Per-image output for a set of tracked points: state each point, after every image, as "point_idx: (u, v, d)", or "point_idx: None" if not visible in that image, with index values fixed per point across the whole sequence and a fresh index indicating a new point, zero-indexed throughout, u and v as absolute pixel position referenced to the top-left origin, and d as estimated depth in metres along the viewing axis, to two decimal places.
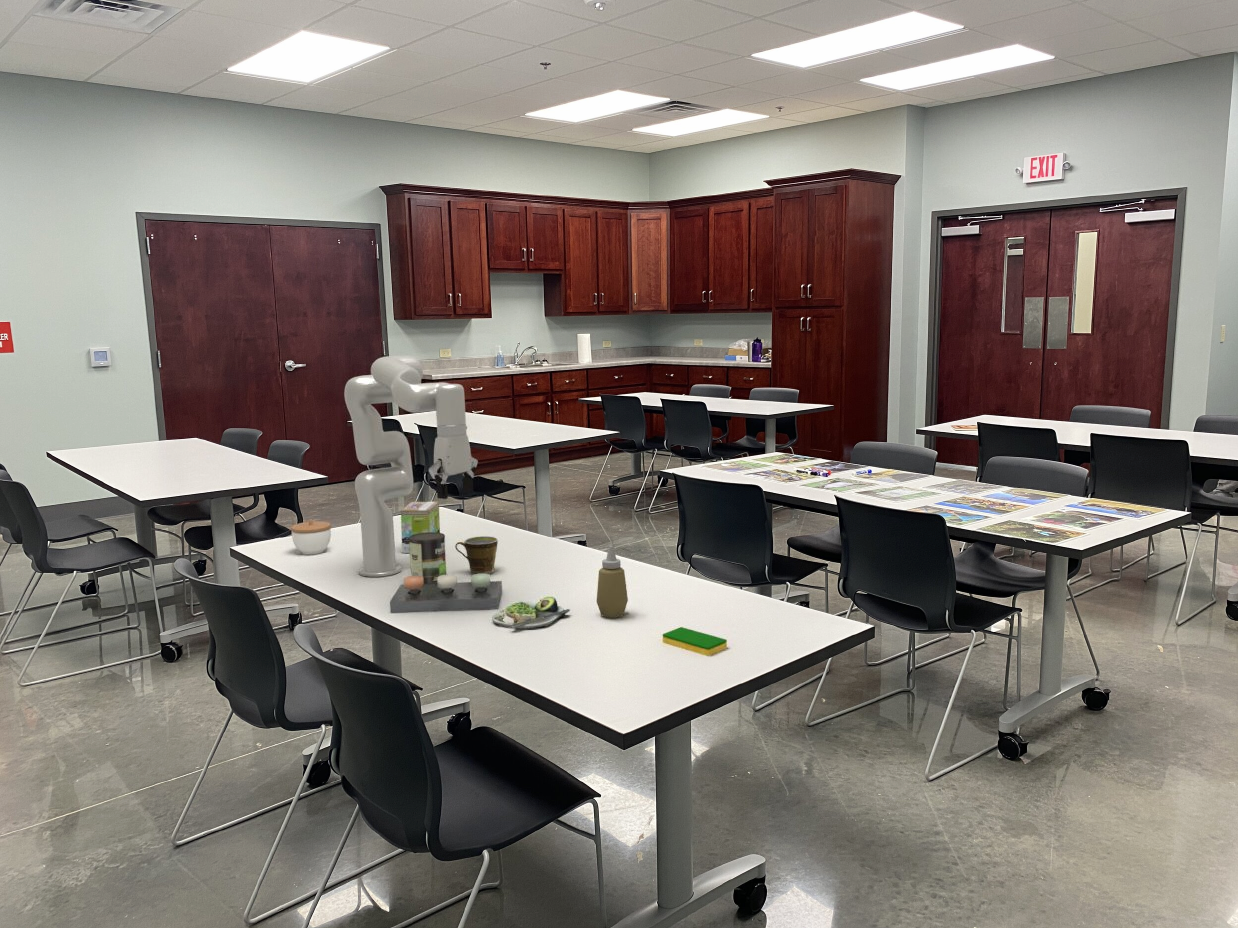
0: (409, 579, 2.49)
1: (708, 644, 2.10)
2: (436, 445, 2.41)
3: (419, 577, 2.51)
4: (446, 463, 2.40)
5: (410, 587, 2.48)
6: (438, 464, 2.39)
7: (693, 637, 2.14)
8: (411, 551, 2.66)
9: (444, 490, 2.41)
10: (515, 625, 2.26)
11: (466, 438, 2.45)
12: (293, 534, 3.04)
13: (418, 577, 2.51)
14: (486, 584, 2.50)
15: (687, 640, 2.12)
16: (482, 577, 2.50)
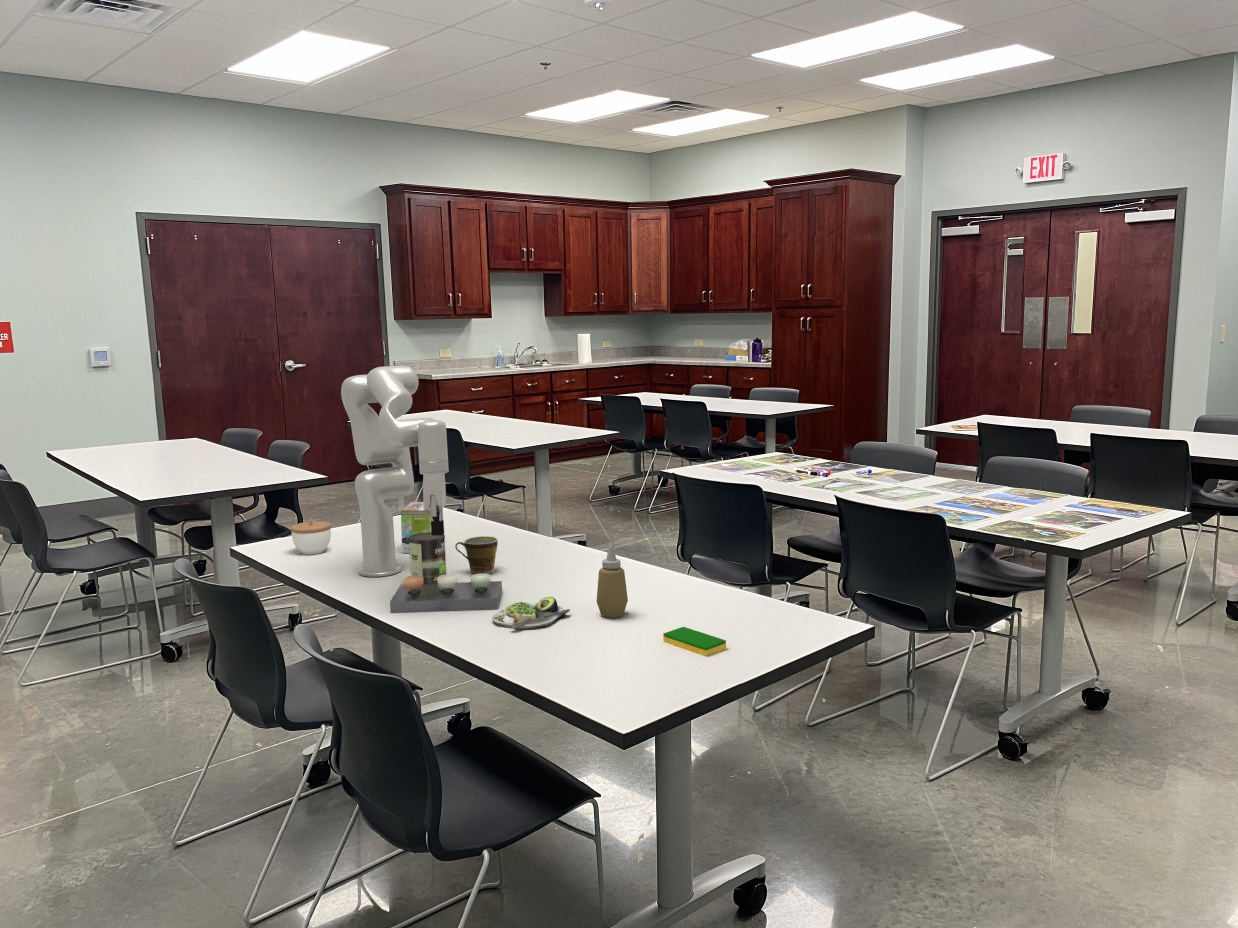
0: (409, 579, 2.49)
1: (706, 644, 2.09)
2: (427, 482, 2.41)
3: (419, 577, 2.51)
4: (440, 498, 2.42)
5: (410, 587, 2.48)
6: (436, 505, 2.43)
7: (693, 637, 2.14)
8: (411, 551, 2.66)
9: (441, 527, 2.47)
10: (515, 625, 2.26)
11: None
12: (293, 534, 3.04)
13: (418, 577, 2.51)
14: (486, 584, 2.50)
15: (686, 640, 2.13)
16: (482, 577, 2.50)
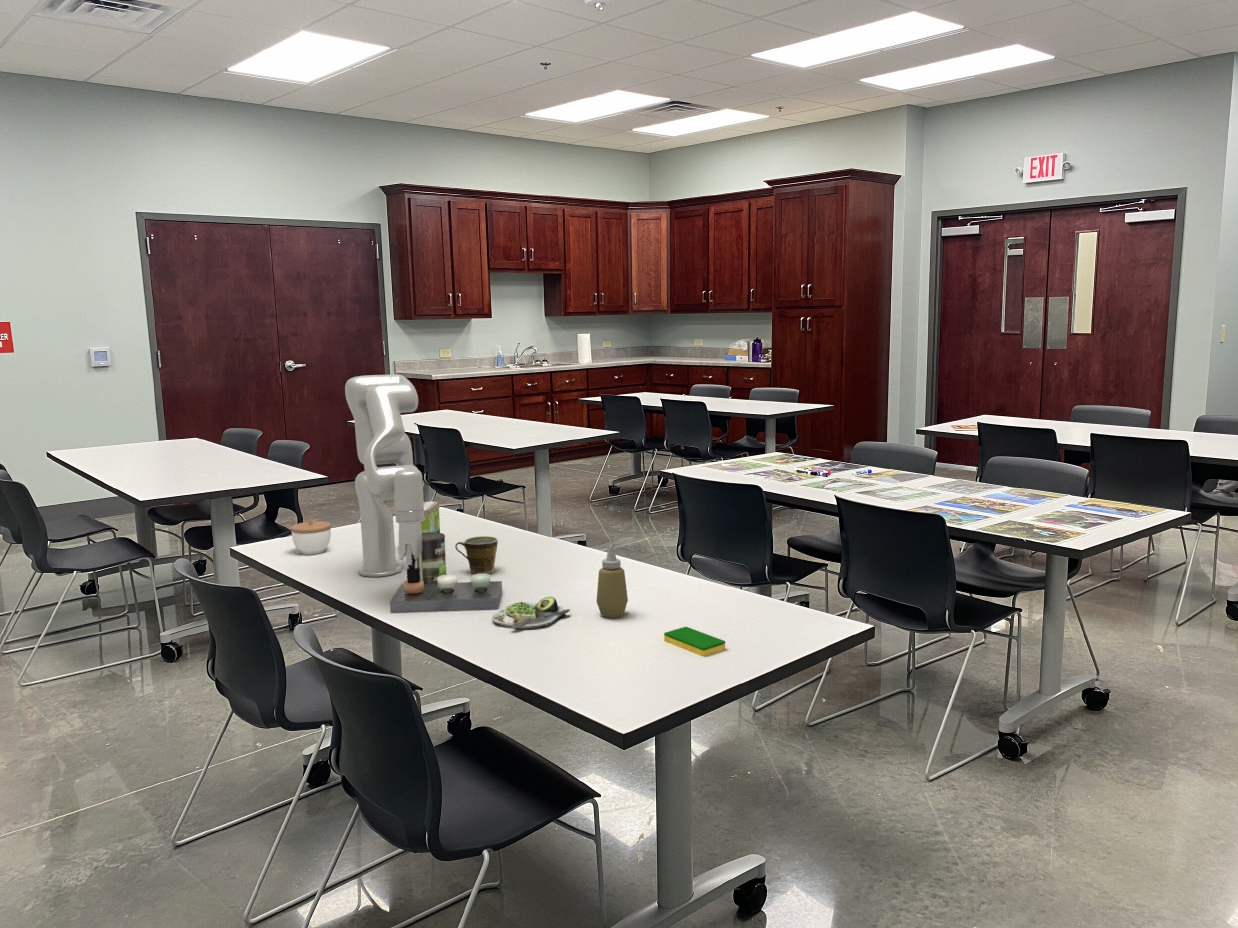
0: (409, 583, 2.49)
1: (704, 645, 2.09)
2: (403, 531, 2.43)
3: None
4: (416, 547, 2.44)
5: (410, 591, 2.48)
6: (411, 554, 2.45)
7: (693, 637, 2.14)
8: None
9: (417, 574, 2.49)
10: (515, 625, 2.26)
11: None
12: (293, 534, 3.04)
13: None
14: (486, 584, 2.50)
15: (685, 640, 2.13)
16: (482, 577, 2.50)
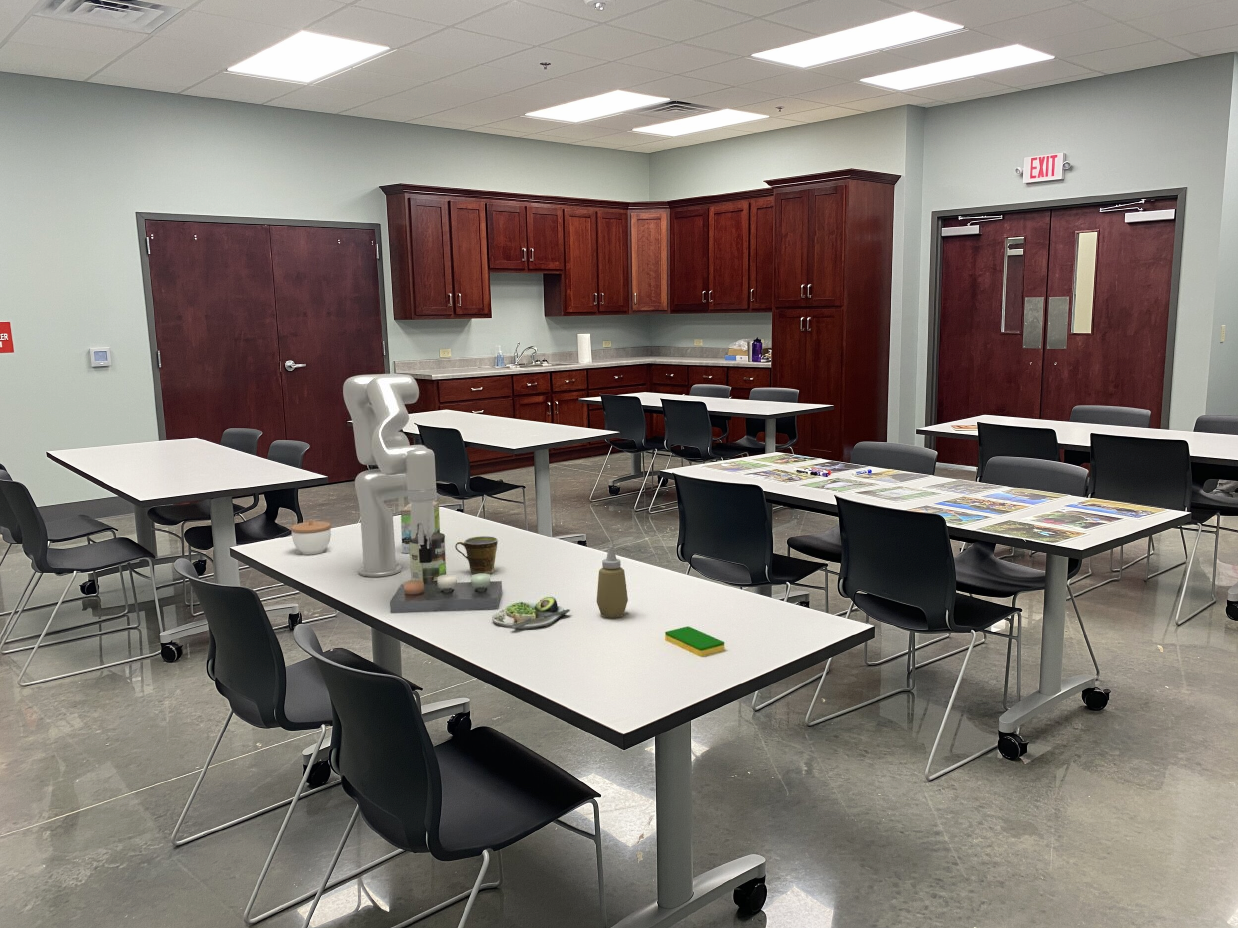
0: (409, 584, 2.49)
1: (702, 645, 2.09)
2: (415, 510, 2.43)
3: (419, 582, 2.51)
4: (428, 527, 2.43)
5: (410, 592, 2.48)
6: (423, 534, 2.44)
7: (692, 637, 2.14)
8: (411, 551, 2.66)
9: (429, 554, 2.48)
10: (515, 625, 2.26)
11: None
12: (293, 534, 3.04)
13: (418, 582, 2.51)
14: (486, 584, 2.50)
15: (685, 639, 2.13)
16: (482, 577, 2.50)
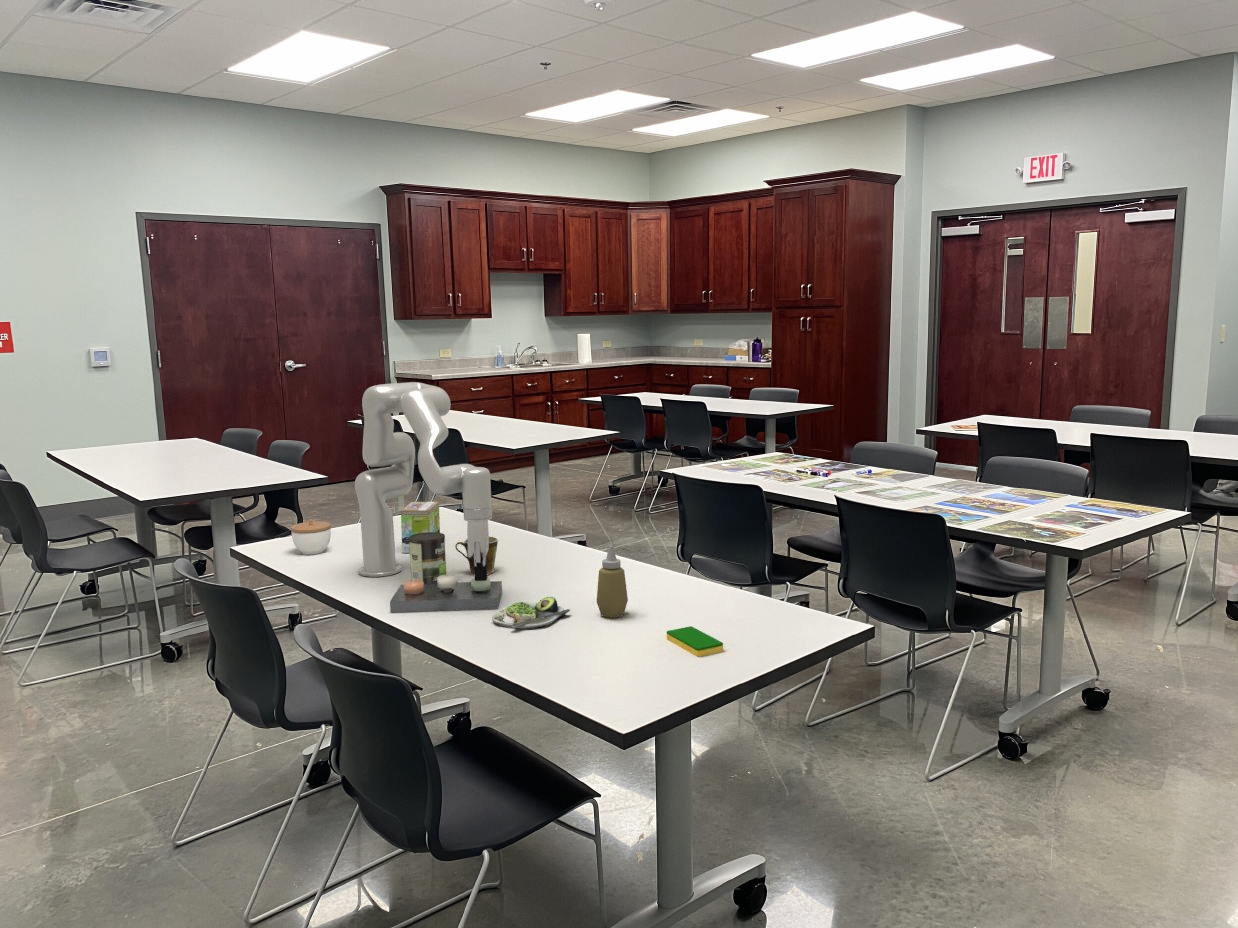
0: (409, 584, 2.49)
1: (700, 645, 2.09)
2: (472, 529, 2.44)
3: (419, 582, 2.51)
4: (484, 545, 2.45)
5: (410, 592, 2.48)
6: (480, 552, 2.45)
7: (692, 637, 2.14)
8: (411, 551, 2.66)
9: (484, 572, 2.50)
10: (515, 625, 2.26)
11: None
12: (293, 534, 3.04)
13: (418, 582, 2.51)
14: (486, 588, 2.50)
15: (684, 639, 2.13)
16: (482, 581, 2.50)
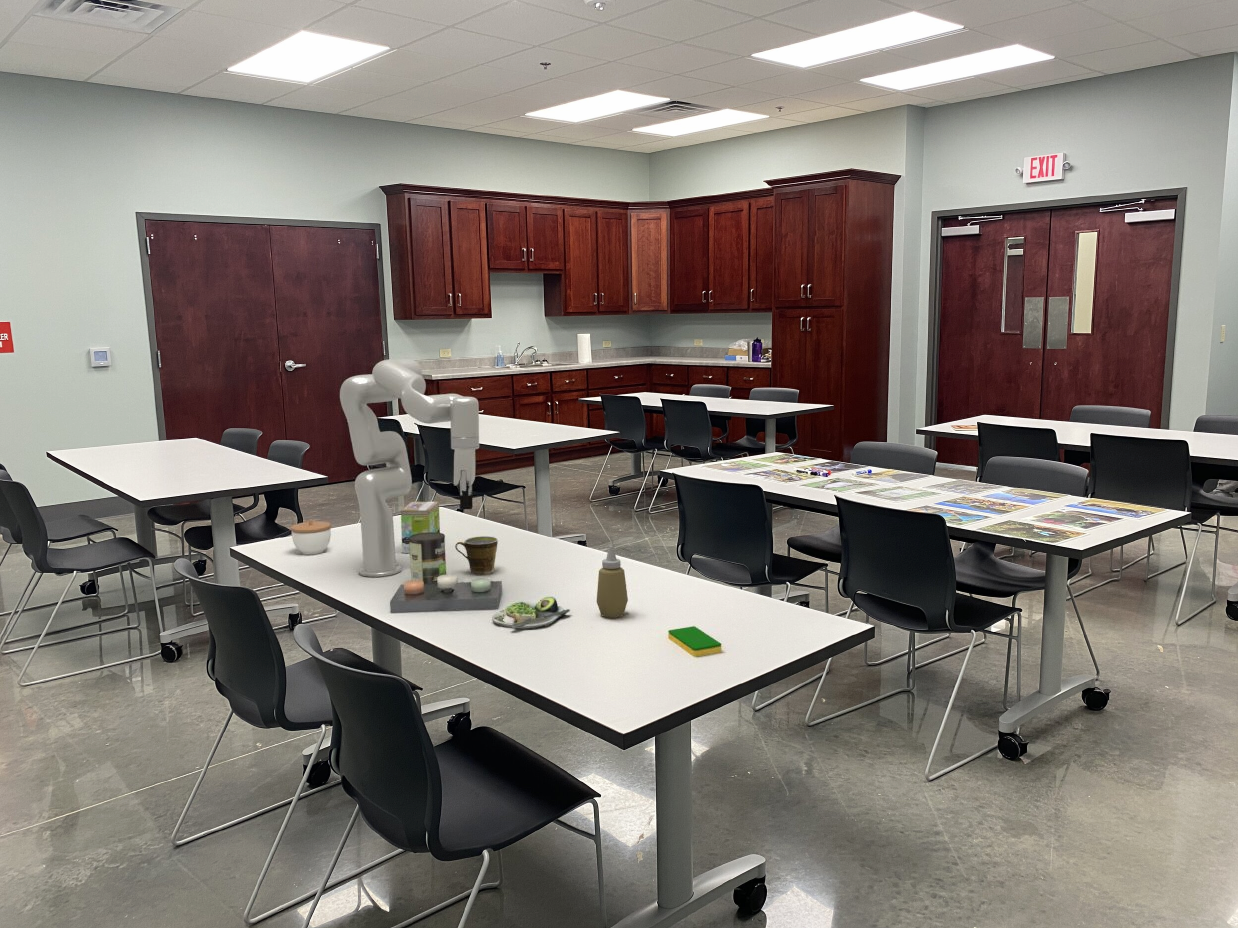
0: (409, 584, 2.49)
1: (697, 645, 2.09)
2: (458, 457, 2.47)
3: (419, 582, 2.51)
4: (470, 474, 2.48)
5: (410, 592, 2.48)
6: (466, 480, 2.48)
7: (692, 637, 2.14)
8: (411, 551, 2.66)
9: (470, 501, 2.53)
10: (515, 625, 2.26)
11: None
12: (293, 534, 3.04)
13: (418, 582, 2.51)
14: (486, 589, 2.50)
15: (683, 639, 2.13)
16: (482, 582, 2.50)
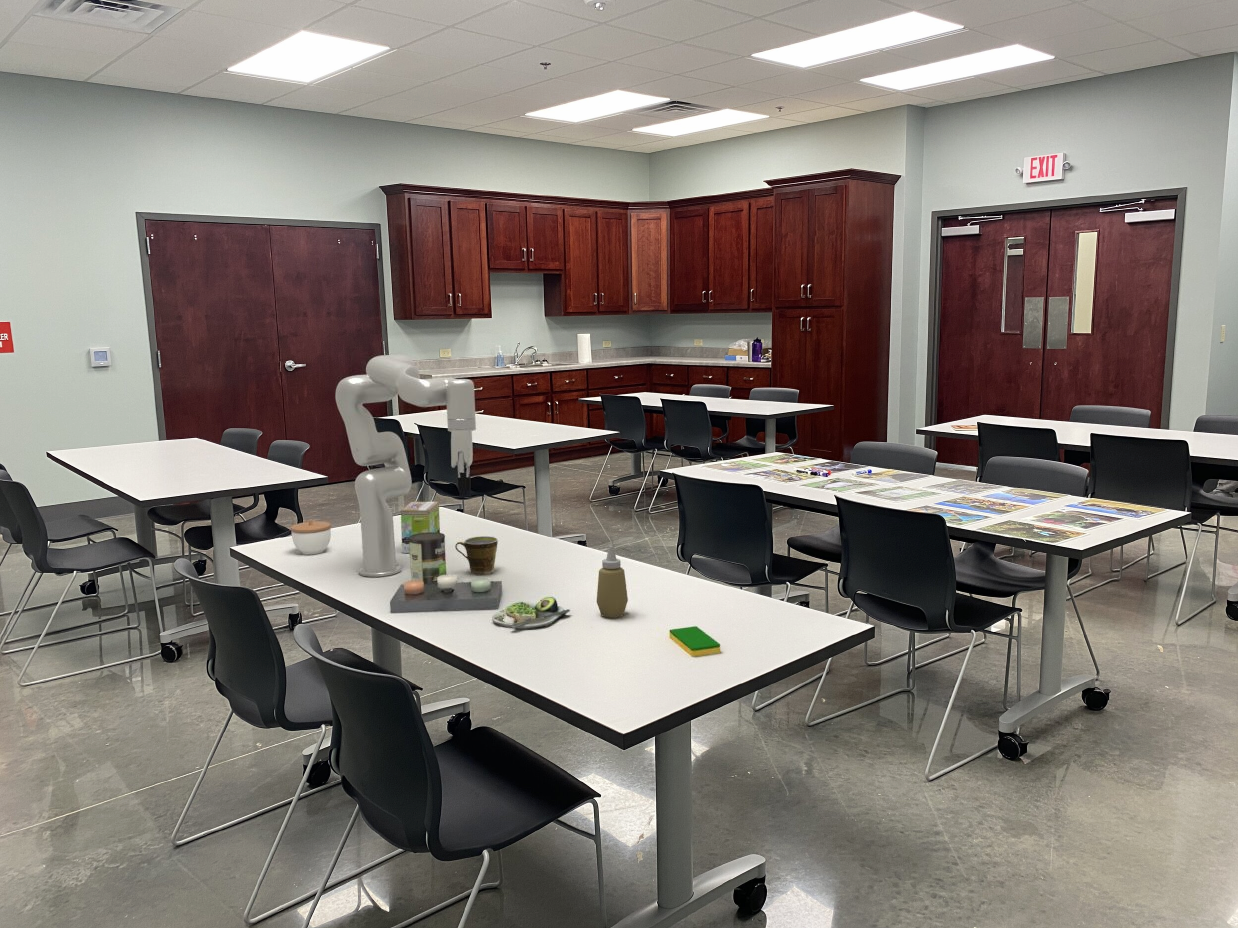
0: (409, 584, 2.49)
1: (696, 645, 2.09)
2: (455, 439, 2.47)
3: (419, 582, 2.51)
4: (468, 455, 2.48)
5: (410, 592, 2.48)
6: (463, 462, 2.49)
7: (692, 637, 2.14)
8: (411, 551, 2.66)
9: (468, 483, 2.53)
10: (515, 625, 2.26)
11: None
12: (293, 534, 3.04)
13: (418, 582, 2.51)
14: (486, 589, 2.50)
15: (683, 638, 2.14)
16: (482, 582, 2.50)
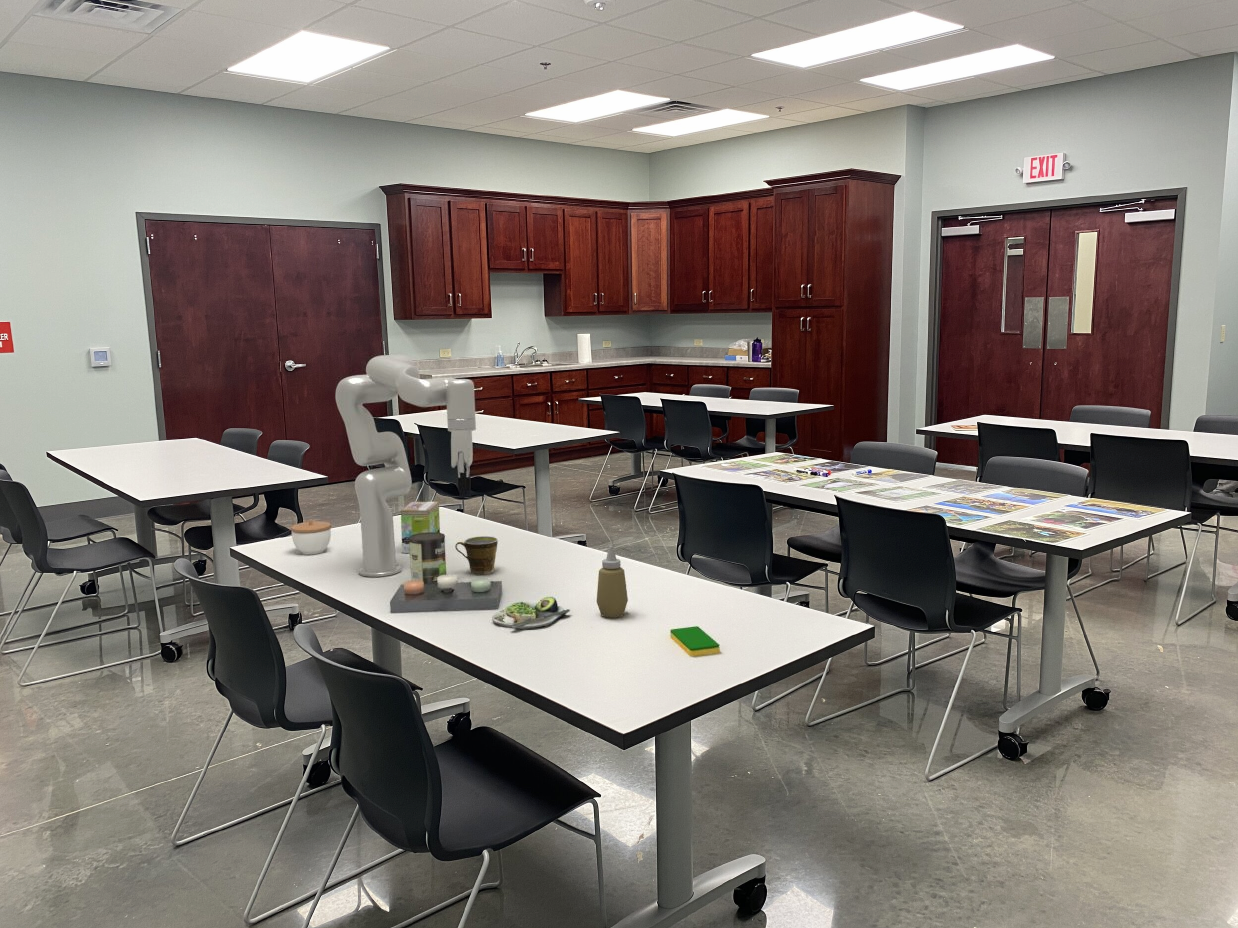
0: (409, 584, 2.49)
1: (695, 645, 2.09)
2: (455, 439, 2.47)
3: (419, 582, 2.51)
4: (468, 455, 2.48)
5: (410, 592, 2.48)
6: (463, 462, 2.49)
7: (692, 637, 2.14)
8: (411, 551, 2.66)
9: (468, 483, 2.53)
10: (515, 625, 2.26)
11: None
12: (293, 534, 3.04)
13: (418, 582, 2.51)
14: (486, 589, 2.50)
15: (682, 638, 2.14)
16: (482, 582, 2.50)
